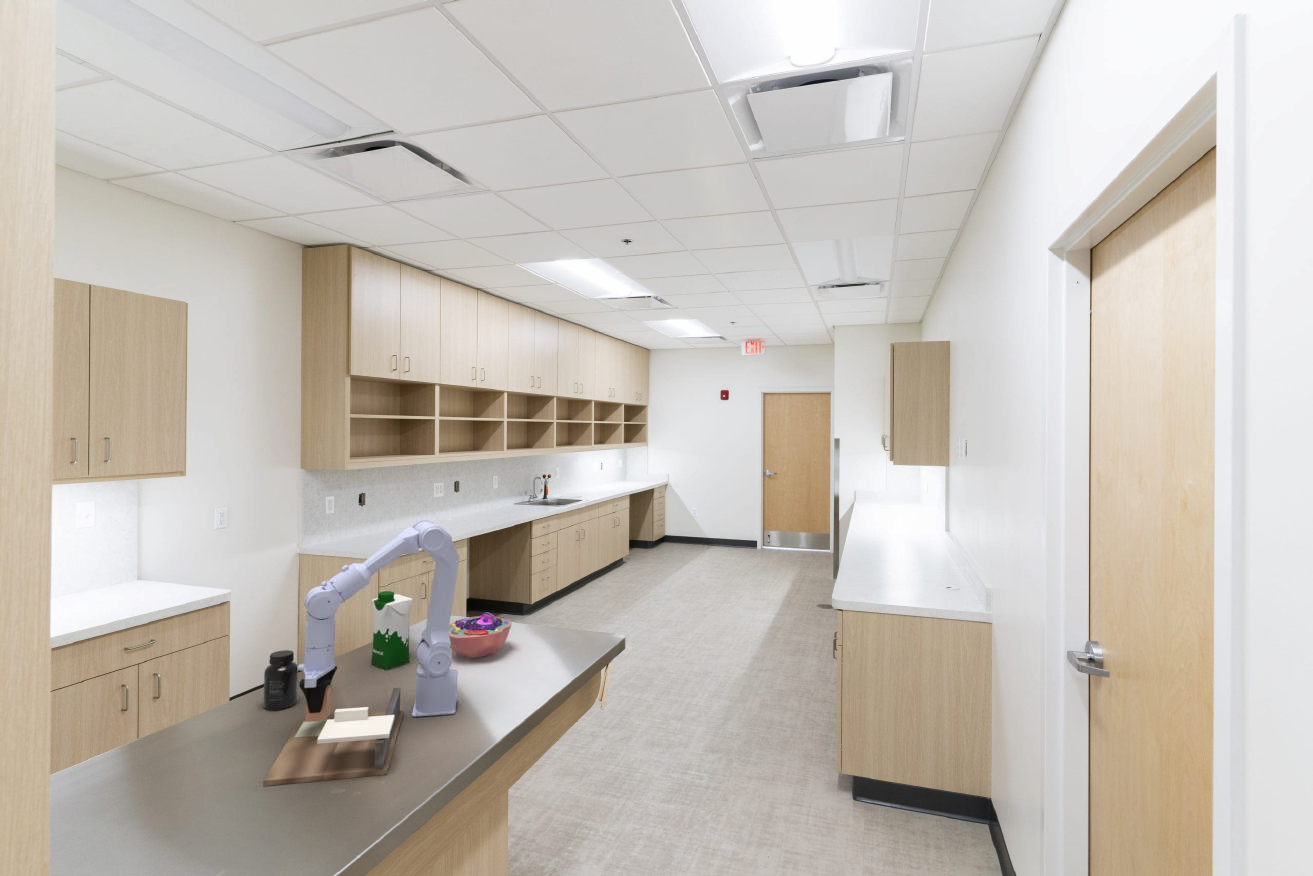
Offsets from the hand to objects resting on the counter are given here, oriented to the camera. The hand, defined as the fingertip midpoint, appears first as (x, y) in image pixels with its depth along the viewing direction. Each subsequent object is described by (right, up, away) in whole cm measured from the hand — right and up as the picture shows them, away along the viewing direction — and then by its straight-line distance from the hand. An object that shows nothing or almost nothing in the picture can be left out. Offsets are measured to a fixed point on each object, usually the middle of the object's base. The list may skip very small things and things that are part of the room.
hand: (317, 707), depth 135 cm
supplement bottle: (-16, -5, +13) cm, 21 cm away
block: (0, -2, 0) cm, 2 cm away
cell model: (+20, -6, +49) cm, 53 cm away
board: (+7, -6, -5) cm, 11 cm away
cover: (+14, 0, -11) cm, 17 cm away
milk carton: (-1, -5, +39) cm, 40 cm away
